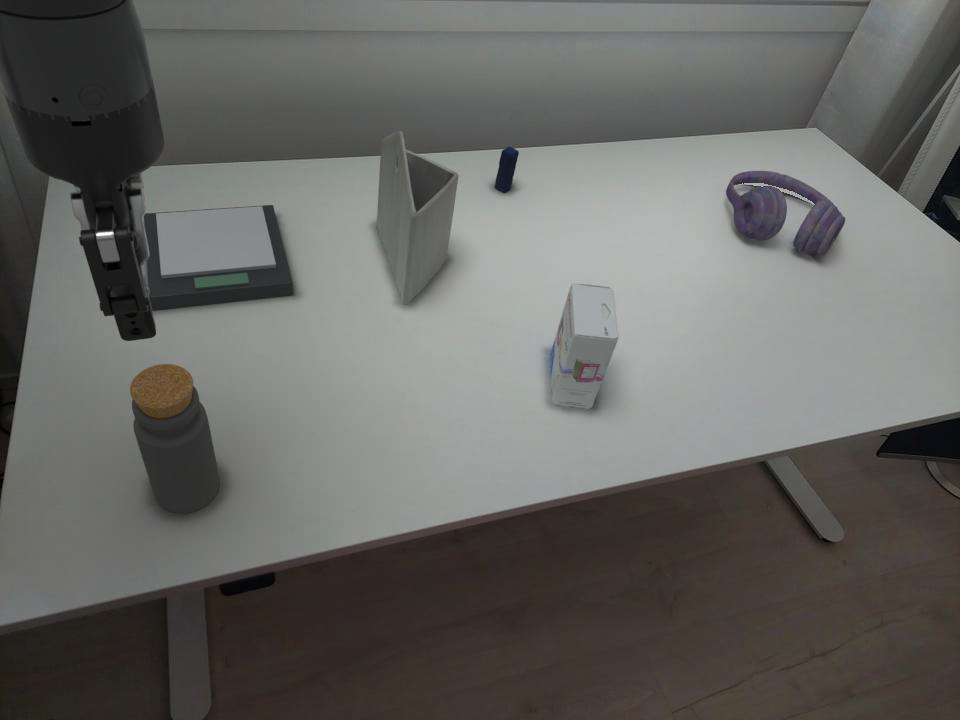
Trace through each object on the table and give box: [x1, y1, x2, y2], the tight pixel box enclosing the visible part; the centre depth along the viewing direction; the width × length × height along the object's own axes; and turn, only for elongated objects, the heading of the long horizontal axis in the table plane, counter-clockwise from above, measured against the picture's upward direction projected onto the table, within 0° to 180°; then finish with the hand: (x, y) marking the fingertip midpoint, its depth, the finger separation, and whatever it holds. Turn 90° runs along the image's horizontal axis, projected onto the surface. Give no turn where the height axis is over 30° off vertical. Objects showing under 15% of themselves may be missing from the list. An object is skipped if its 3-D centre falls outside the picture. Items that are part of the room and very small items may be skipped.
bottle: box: [129, 363, 220, 515], centre depth 63 cm, size 6×6×15 cm
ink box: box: [549, 282, 619, 410], centre depth 81 cm, size 9×5×12 cm, turn 178°
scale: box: [143, 204, 294, 312], centre depth 89 cm, size 16×16×3 cm
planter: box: [375, 130, 460, 306], centre depth 89 cm, size 16×8×19 cm, turn 18°
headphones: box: [725, 170, 846, 256], centre depth 115 cm, size 18×8×20 cm
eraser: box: [494, 146, 520, 194], centre depth 109 cm, size 2×2×7 cm
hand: (136, 294), depth 51 cm, fingers open, 8 cm apart
